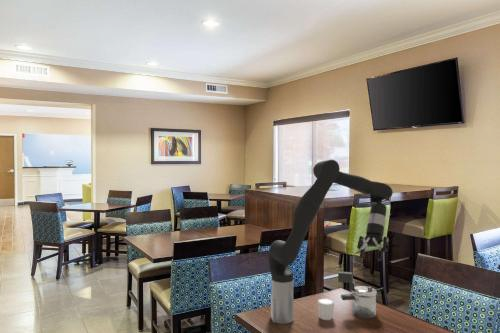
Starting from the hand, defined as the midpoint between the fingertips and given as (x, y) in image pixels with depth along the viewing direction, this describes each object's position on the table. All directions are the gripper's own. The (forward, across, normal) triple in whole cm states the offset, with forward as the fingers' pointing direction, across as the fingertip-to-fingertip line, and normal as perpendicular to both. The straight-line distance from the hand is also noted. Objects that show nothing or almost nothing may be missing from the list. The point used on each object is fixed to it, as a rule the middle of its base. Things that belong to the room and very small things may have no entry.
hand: (370, 259), depth 162 cm
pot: (+23, -5, +5) cm, 24 cm away
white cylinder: (+29, -12, -7) cm, 32 cm away
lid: (+14, -5, +2) cm, 15 cm away
